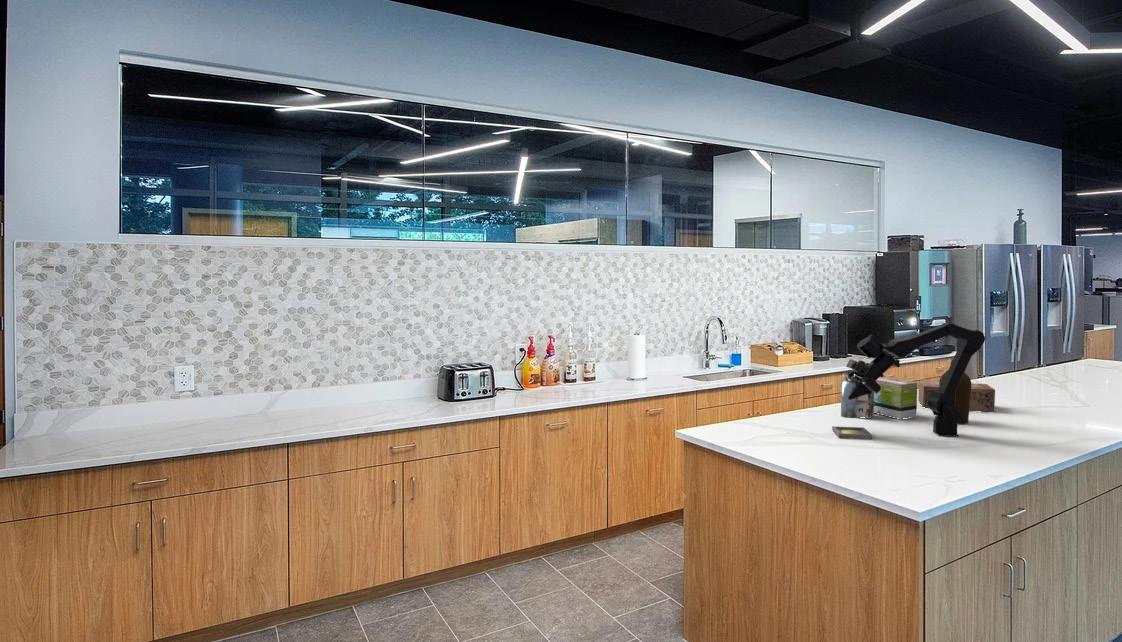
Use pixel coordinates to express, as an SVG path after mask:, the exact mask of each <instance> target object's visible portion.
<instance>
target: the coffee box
mask: <svg viewBox="0 0 1122 642" xmlns="http://www.w3.org/2000/svg"><path fill="white" fill-rule="evenodd" d="M872 415H873V416H874V392H873V390H872V393H870V394H866V395H863V396H860V397H858V417H865V418H870V417H871V416H872ZM873 416H872V417H873ZM872 417H871V418H872ZM871 418H870V419H871Z"/></svg>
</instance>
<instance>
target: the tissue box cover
mask: <svg viewBox="0 0 1122 642" xmlns="http://www.w3.org/2000/svg"><path fill="white" fill-rule="evenodd" d="M938 389H939V381H932V380H931V381H928V380H918V392H917V402H918V401H919V402H920V404H921V405H922V406H921V405H920V404H919V405H920V406H921V408H922V407H925V408H929V406H928V401H929V400H927V399H928V398H929V397H930V394H931V391H932V390H935V391H937V390H938ZM995 401H996V389H995V388H993V387H991V386H990V385H989V384H988V383H974V382H973V383H972V382H971V395H970V405H969V412H973V411H981V412H980V413H989V412H994V413H995V406H996V405H995ZM919 402H918V403H919Z"/></svg>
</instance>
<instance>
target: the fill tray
mask: <svg viewBox="0 0 1122 642" xmlns="http://www.w3.org/2000/svg"><path fill="white" fill-rule="evenodd" d="M832 430H833V431H832ZM831 431H832V432H833V433H834V434H835V436H836V437H837V436H838V437H837V438H838V439H849V438H855V439H854V440H873V433H871V432H870V431H868V429H867V428H865V427H864V426H863V427H860V426H838V425H837V426H834V425H832V426H831ZM856 438H857V439H856Z"/></svg>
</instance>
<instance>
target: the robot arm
mask: <svg viewBox="0 0 1122 642" xmlns="http://www.w3.org/2000/svg"><path fill="white" fill-rule="evenodd" d="M948 336H950V337H952V338H954V339H956V344H955V345H956V346H955V347H956V351H955V354H954V356H953V358H954V359H953V361H952V363H951V362H950V366H949V367H948V369H947V370H948V372H947V374H946V376H945V379H944V381H943V383H942V385H941V387H940V388H939V389H938V390H937V391H935V390H932V391H931V394H930V397H929V398H928V399H927V400H929V401H928V406H929V408H930V409H929V410H931V411H932V413H933V415H934V416H935V417H934V420H933V426H932V432H933V433H934V434H936V435H937V436H939V437H960V435H959V434H958V424H957V421H958V420H959V419H960V417H961V414H960V413H959V412H958V411H957V410H956V409H955V408H954V406H955V402H956V398H955V392H956V390H957V387H958V385H959V383H960V381H961V379H962V376H963V374H964V372H965V373H966V371H967V367H968V365H969V363H970V361H971V360H972V357H973V355H975V354H976V353H977V352H979V351H980V349H981V348H982V347H983V345H984V343H985V341H986V336H985V334H984V332H982V331H981V330H977V329H971V328H970V329H969V328H965V327H962V326H959V325H956V324H955V323H951V322H943V323H942V324H940V325H937V326H936V327H935V326H934V327H933V328H929V329H927V330H925V331H922V332H919V333H917V334H914V335H912V336H907V337H899V338H895V339H891V340H889V341H888V342H886V343H882V342H880V341H879V340H878V339H877V338H876V336H875V335H873V334H870V335H869V336H867V337H864V338H863V339H861V340H860V341H859V342H858V343H857V345H856V348H857V350H859V351H860V352H861V353H863V355H864V356H866V357H867V358H868V359H872V360H871V361H870V362H866V361H864V360H862V359H859V360H858V361H857V360H854V359H851V358H849V359H848V362H847V363H846V365H845V367H846V368H850V369H849V370H848V371H847V372H846V373H845V375H846V376H847V378H848V379H853V380H854V381H857V387H856V388H855V389H854V390H853V391H852V393H851V394H850V395H849V396H848V399H849V400H851V399H854V398H857V397H860V396H863V395H866V394H870V393H872V390H873V392H874V393H878V392H879V391H880V390H881V386H880V385H879V384H878V383H877V382H876V380H877V379H878V378H882V377H885V373H886V372H887V371H888V370H889V369H891V367H892V366H894V367H895V368H900V367H901V365H900V361H901V360H900V359H898V358H904V357H906V356H909V355H910V354H911V353H913V352H914V351H915V350H916V349H918V348H919V347H922V346H924V345H927V344H929V343H932V342H936V341H937V340H940V339H942V338H945V337H948ZM886 352H887V353H886ZM893 356H895V357H898V358H894V357H893Z"/></svg>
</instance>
